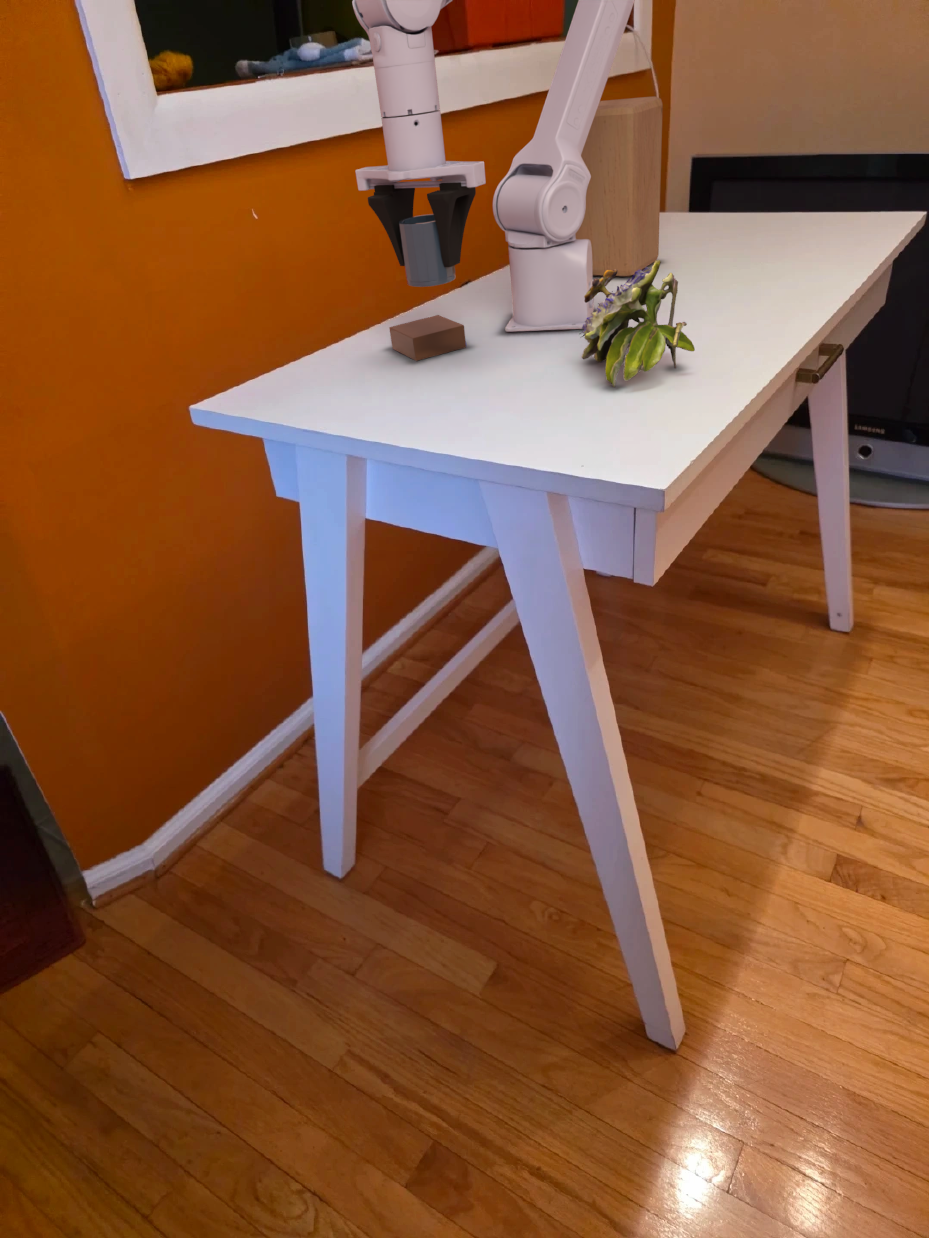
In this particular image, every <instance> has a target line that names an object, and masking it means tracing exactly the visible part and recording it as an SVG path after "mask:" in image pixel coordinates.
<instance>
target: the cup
mask: <svg viewBox="0 0 929 1238" xmlns="http://www.w3.org/2000/svg"><path fill="white" fill-rule="evenodd" d="M398 223H399V231H400V238H401V245H402V252H403V259H404V266H403V267H404V272H405V278H406V279H405V280H406V285H408V286H410V287H414V288H425V287H435V286H441V285H444V284H448V283H451V282H453V281H455V279H456V265H454V266H452V267H444V264H443V261H442V256H441V249H440V241H439V234H438V229H437V225H436V221H435V218H434V215H433V213H429V214H428V213H427V214H421V215H415V216H414V215H413V217H409V218H406V219H403V220H401V221H399V222H398Z"/></svg>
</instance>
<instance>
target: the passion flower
mask: <svg viewBox="0 0 929 1238" xmlns="http://www.w3.org/2000/svg"><path fill="white" fill-rule="evenodd" d="M661 263H662V262H661V260H660V259H657V260H656V261H654V262H653V265H651V269H650V267H648V266H647V267H645V268H643V269H642V270H638V271H636V272H635V273H634V275H632V276H631V278H628V279H627V280H626V282H624V284H620V286H619V285H617V286H616V291H615V292H614V290H612V291H611V292H610V291H609V290H608V289H607V285H609V283H610V282H612V280H614V278H615V277H617V276H616V274H617V273H618V270H617V269H615V270H613V271H612V270H607V271H606V272H605V273H604V275H603V276H600V277H599V278H598V277H595V278H593V282H592V287H591V288H590V289H589V291H588V292H587V294H586V295H585V296H584V298H585V300H584V301H585V303H587V302H589V301H590V300H592V299H593V298H594V299H595V297H596V296H597V294H599V293H602V294H604V296H605V299H604V300H603V301H601V302H597V305H598V306H597V307H596V311H593V313H591V314H592V315H591V317H588V318H587V319H586V321H585V323H586V324H584V325H583V327H582V328H583V330H582V331H581V332H580V333H579V335H581V336H579V338H580V339H581V338H584V339H585V340H586V341H587V343H588V345H587V346H586V347H585V348H584V349H583V353H582V354H581V359H583V360H586V359H589V358H590V357H592V356H593V359H594V361H596V362H598V363H602V362H604V361H605V368H604V372H605V380H606V381H607V382H608V383H610V384H611V385H612V388H615V387H616V383H617V382H616V381H617V376H618V374H619V372H620V370H621V368H622V366H623V373H622V375H623V380H624V381H629V380H631V379H632V378H634V377H635V376H637V375H638V374H639V373H640V372H644V373H646V372H649V371H651V369H652V368H654V367H655V366H656V365H657V364H658V363H659V362H660V360H661V359H662V357H663V355H664V354H665V351H666V347H667V348H668V349H669V352H670V355H671V360H672V363H673V368H674V369H677V359H676V358H677V357H676V356H677V353H676V351H677V349H678V348H679V349H681V350H684V351H686V352H687V351H689V352H695V351H696V350H695V346H694V343H693V342H692V340H691V339H690V338H689V337H688V336H687V335H686V334H685V333H684V332H683V331H682V329H683V328H684V327H685V326H686V327H687V325H688V323H687V322H686V321H682V322H680V321H679V322H676V323H675V326H674V325H673V324H674V316H675V308H676V307H675V306H676V301H677V296H678V295H677V294H678V289H679V287H678V285H679V281H678V280H677V279H676V278H675V275H674V274H673V272H669V273H668V274H667V276H666V277H665V278H663V279H662V280H661V281H662V284H661V287H660V288H656V287H655V285H653V282H654V281H655V278H656V276H657V274H658V272H659V270H660V266H661ZM667 286H668V288H667V289H665V288H666V287H667ZM669 293H671V297H672V298H671V304H670V305H671V306H670V310H669V312H670V313H669V320H668V322H667V324H659V323H658V321H657V317H658V313H659V311H660V307H661V304H662V300H664V299H665V298H667V295H668V294H669ZM643 306H645V307H646V309H645V308H644V307H643ZM640 319H643V321H641V320H640ZM630 320H632V321H634V322H636V323H637V324H636V325H635V326H634V327H633V326H629V324H630ZM582 334H583V335H582ZM627 351H628V352H627ZM623 364H624V365H623Z"/></svg>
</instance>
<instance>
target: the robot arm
mask: <svg viewBox="0 0 929 1238" xmlns="http://www.w3.org/2000/svg"><path fill="white" fill-rule="evenodd" d="M451 2H453V0H352V1H351V3H352V4H351V5H352V9H353V12H354V14H355V17H356V19H357V21H358V23H359V24H360V26H361V27H362V28H363V30H364V31H365V32H366V34H367V36H368V40H369V45H370V52H371V54H372V62H373V68H374V69H373V70H374V75H375V82H376V91H377V97H378V103H379V111H380V117H381V125H382V126H381V127H382V131H383V132H382V133H383V139H384V140H383V141H384V145H385V154H386V160H387V165H377V166H376V165H375V166H365V167H361V168H359V169H358V168H357V169H355V178H356V184H357V189H358V191H359V192H361V191H362V192H363V191H365V192H366V191H370V190H374V191H373V195H369V196H368V197H367V203H368V206H369V207H370V208H371V210H372V211H373V212H374V214H375V216H376V217H377V218H378V220H379V221H380V224H381V225H382V227H383V228H384V230H385V232H386V235H387V237H388V238H389V241H390V243H391V246H392V248H393V250H394V253H395V256H396V259H397V261H398V263H399V266H400V267H405V266H404V259H403V252H402V245H401V238H400V231H399V223H398V222H399V221H401V220H403V219H406V218H409V217H414V203H415V202H414V201H415V191H416V189H421V188H422V189H423V188H439V189H438V190H435V191H431V192H428V193H426V199H427V201H428V203H429V206H430V209H431V212H432V214H433V215H434V218H435V221H436V225H437V229H438V234H439V241H440V249H441V256H442V261H443V264H444V267H452V266H454V265H455V266H457V265H459V264H460V263H461V256H462V247H463V239H464V233H465V229H466V223H467V220H468V216H469V212H470V210H471V207H472V205H473V201H474V199H475V197H476V191H477V190H476V189H477V187H479V186H482V185H486V184H487V183H486V181H487V180H486V169H485V162H484V160H483V161H462V160H461V161H460V160H459V161H458V160H457V161H456V160H446V153H445V143H444V141H445V140H444V134H443V123H442V114H441V106H440V96H439V88H438V77H437V69H436V68H437V67H436V58H435V49H434V39H433V31H432V30H433V29H432V27H433V25H434V24H435V22H436V21H437V19H438V17H439V15H440V11H441V10H442V9H443V8H445V7H446V6H448V5H449V4H450V3H451ZM634 3H635V0H577V4H576V7H575V10H574V13H573V16H572V18H571V22H570V25H569V29H568V31H567V34H566V37H565V40H564V43H563V47H562V50H561V53H560V56H559V59H558V61H557V65H556V68H555V71H554V75H553V77H552V79H551V83H550V85H549V88H548V91H547V94H546V95H547V96H546V98H545V101H544V104H543V106H542V110H541V113H540V116H539V119H538V123H537V125H536V128H535V130H534V131H535V132H534V133H533V137H532V139H531V140H530V141H529V142H528V143H527V144H526V145H525V146H524V147H523V148H522V149H520V150H519V151H518V152H517V153H516V154H515V156H514V157H513V159H512V162H511V165H510V168H509V170H508V171H507V173H506V175H505V176H504V177H503V178H502V179H501V180H500V182H499V183H498V185H497V186H496V188H495V191H494V194H493V198H492V213H493V217H494V220H495V222H496V224H497V226H498V227H499V229H501V230H502V231H503V232H504V235H505V236H504V237H505V242H507V244H508V245H507V248H508V261H509V274H510V276H509V277H510V288H511V303H512V316H511V318H510V319H509V321H508V322H507V324H506V325H505V327H504V329H505V332H508V333H509V332H511V333H512V332H529V331H530V332H532V331H533V332H534V331H536V332H537V331H559V330H560V331H561V330H582V329H583V328H582V327H583V325H584V324H586V323H585V321H586V319H587V318H588V317H591V316H592V314H591V313H593V312H594V310H595V307H594V306H595V305H594V304H595V297H594V298H593V299H592V300H590V301H589V302H587V303H585V301H584V300H585V298H584V296H585V295H586V294H587V292H588V291H589V289H590V288H591V287H592V282H593V280H594V276H593V272H592V247H591V241H590V240H589V239H576V234H575V233H576V232H577V231H578V229H579V228H580V226H581V224H582V222H583V219H584V215H585V209H586V192H587V188H588V184H589V181H590V178H591V175H590V172H589V170H588V168H587V166H586V165H585V163H584V161H583V159H582V157H581V154H582V151H583V148H584V145H585V142H586V139H587V136H588V133H589V130H590V128H591V125H592V122H593V119H594V116H595V113H596V110H597V107H598V105H599V102H600V101H601V98H602V96H603V93H604V90H605V88H606V85H607V82H608V79H609V75H610V73H611V70H612V67H613V65H614V62H615V58H616V56H617V53H618V49H619V46H620V45H621V42H622V38H623V35H624V33H625V30H626V27H627V24H628V21H629V18H630V15H631V13H632V9H633V6H634ZM421 179H429V180H421ZM409 180H410V181H409ZM411 180H413V181H411ZM416 180H417V181H416ZM583 330H584V329H583Z"/></svg>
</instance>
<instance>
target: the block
mask: <svg viewBox="0 0 929 1238" xmlns="http://www.w3.org/2000/svg"><path fill="white" fill-rule="evenodd" d="M388 328H389V335H390V341H391V348H392V350H394V351H396V352H398V353H400V354H402V355H403V356H406V357H407V358H409V359H411V360H413V361H415V362H418V361H422V360H425V359H429V358H432V357H436V356H440V355H443V354H448V353H450V352H455V351H459V350H462V349H466V348H467V341H466V332H465V325H464V324H463V323H459V322H457V321H454V320H453V319H449V318H447V317H445V316H442V315H440V314H436V315H431V316H428V317H424V318H421V319H420V318H419V319H416V320H411V321H408V322H403V323H400V324H396V325H393V326H389V327H388Z"/></svg>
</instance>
